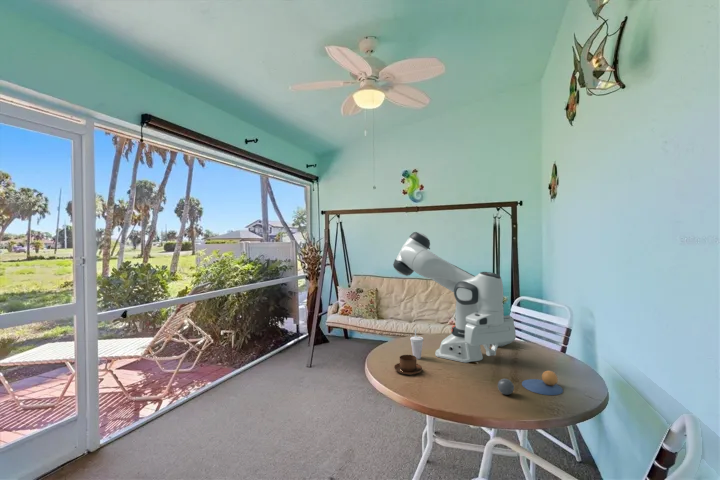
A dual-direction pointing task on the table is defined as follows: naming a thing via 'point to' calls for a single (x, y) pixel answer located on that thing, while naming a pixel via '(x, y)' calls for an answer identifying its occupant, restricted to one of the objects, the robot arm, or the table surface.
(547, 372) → the orange ball
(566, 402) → the table surface
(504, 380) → the charcoal ball
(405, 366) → the cup and saucer
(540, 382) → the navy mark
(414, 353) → the smoothie
